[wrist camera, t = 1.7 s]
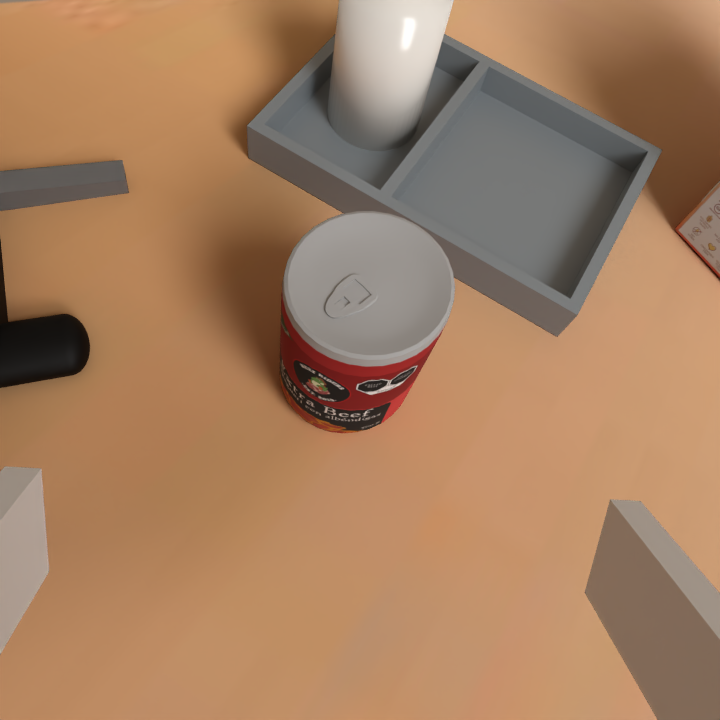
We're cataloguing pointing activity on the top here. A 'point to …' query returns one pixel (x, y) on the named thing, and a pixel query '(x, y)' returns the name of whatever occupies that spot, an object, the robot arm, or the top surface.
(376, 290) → the canned food
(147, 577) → the top surface
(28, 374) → the toy submachine gun
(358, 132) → the ceramic jar
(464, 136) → the caddy
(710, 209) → the cracker box
